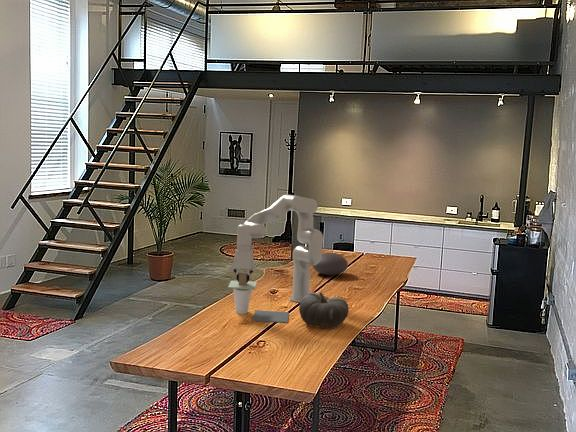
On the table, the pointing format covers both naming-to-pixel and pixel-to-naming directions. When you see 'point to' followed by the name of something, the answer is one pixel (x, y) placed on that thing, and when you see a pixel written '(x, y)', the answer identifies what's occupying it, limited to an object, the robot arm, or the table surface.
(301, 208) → the robot arm
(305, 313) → the gourd
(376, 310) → the table surface
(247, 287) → the lid
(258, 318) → the mat
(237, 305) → the foam cup
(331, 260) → the smooth stone
